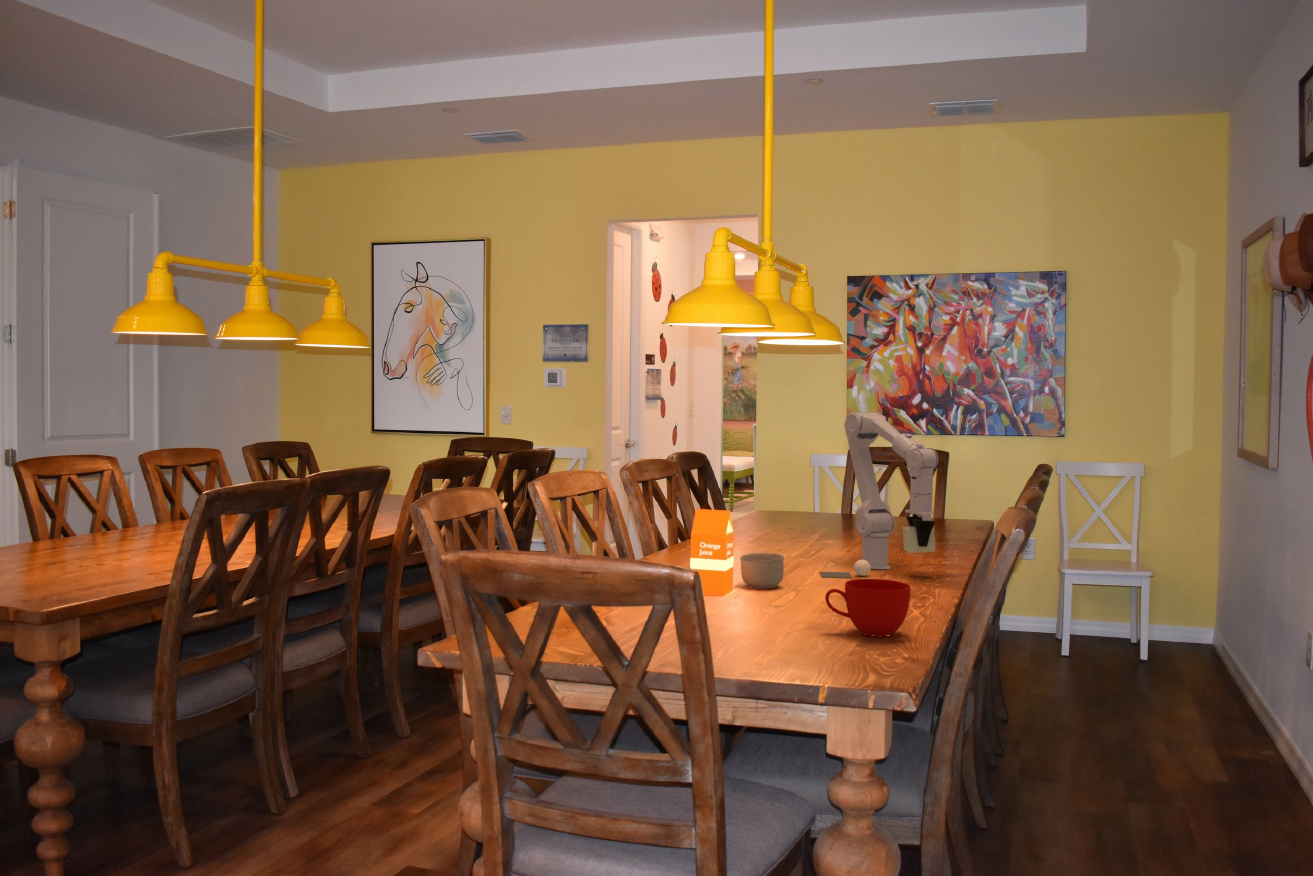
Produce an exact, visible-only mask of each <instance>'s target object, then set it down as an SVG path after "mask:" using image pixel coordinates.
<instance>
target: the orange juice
mask: <svg viewBox="0 0 1313 876" xmlns="http://www.w3.org/2000/svg"><path fill="white" fill-rule="evenodd" d="M693 518H694V519H693V524H692V527H691V533H690V560H689V561H690V562H689V563H690V564H689V569H690V568H691V569H694V570H697V571H698V572H699V573H700V576H701V580H702V584H703V590H704V594H703V595H706V594H707V595H708V596H719V595H723V596H722V597H726V596H727V595H728V594H729V592H730V591H731V592H733V591H734V587H733V585H734V546H735V545H734V544H735V541H734V535H735V534H734V533H735V531H734V526H733V521H732V514H731V510H725V509H724V510H722V509H721V510H720V509H705V508H700V509H699V508H696V509H695V514H694V517H693ZM732 590H733V591H732ZM731 592H730V593H731ZM705 593H706V594H705ZM727 593H728V594H727ZM709 594H710V595H709ZM726 594H727V595H726ZM725 595H726V596H725Z"/></svg>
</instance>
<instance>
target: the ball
mask: <svg viewBox="0 0 1313 876" xmlns="http://www.w3.org/2000/svg"><path fill="white" fill-rule="evenodd" d="M853 570H854V571H853V572H854V573H855V574H856V575H857V576H860V577H866V576H867V575H869V574H870V573H871V570H872V569H871V567H870V564H869V563H868V562H867V561H866V560H862V559H859V560H857V561H856V562H855V563H854V565H853Z"/></svg>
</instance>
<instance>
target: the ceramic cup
mask: <svg viewBox="0 0 1313 876" xmlns="http://www.w3.org/2000/svg"><path fill="white" fill-rule="evenodd" d="M911 590H912V589H911V586H910V584H909V583H906V582H903V581H898V580H892V579H882V578H858V579H851V580H847V581H845V583H844V591H843V590H841V589H838V588H831V589H829V590H827V592H826V593H825V596H824V597H825V598H824V600H825V602H826V606H828V608H829V609H830V610H831V611H833V612H834V613H835V614H837V615H839V616H842V617H845V618H849V619H850V621H851V622H852V625H854V627H855V628H856V629H857V630H858V632H859V633H860V632H861V633H863V634H866V635H874V636H886V635H892V634H893V635H894V634H895V633H896V632H897V631H898V630H899V628H901V626H902V625H903V624H904V621H905V619H906V617H907V615H908V612H909V611H908V610H909V607H910V601H911V600H910V599H911ZM833 593H837V594H839V595H840V596H842V597H843V599H844V602H845V605H846V609H847V612H844V611H841V610H840V609H837V608H835V606H833V605H832V604H831V602H830V595H831V594H833ZM861 633H860V634H861ZM863 634H862V635H863ZM866 635H865V636H866ZM893 635H892V636H893Z"/></svg>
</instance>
